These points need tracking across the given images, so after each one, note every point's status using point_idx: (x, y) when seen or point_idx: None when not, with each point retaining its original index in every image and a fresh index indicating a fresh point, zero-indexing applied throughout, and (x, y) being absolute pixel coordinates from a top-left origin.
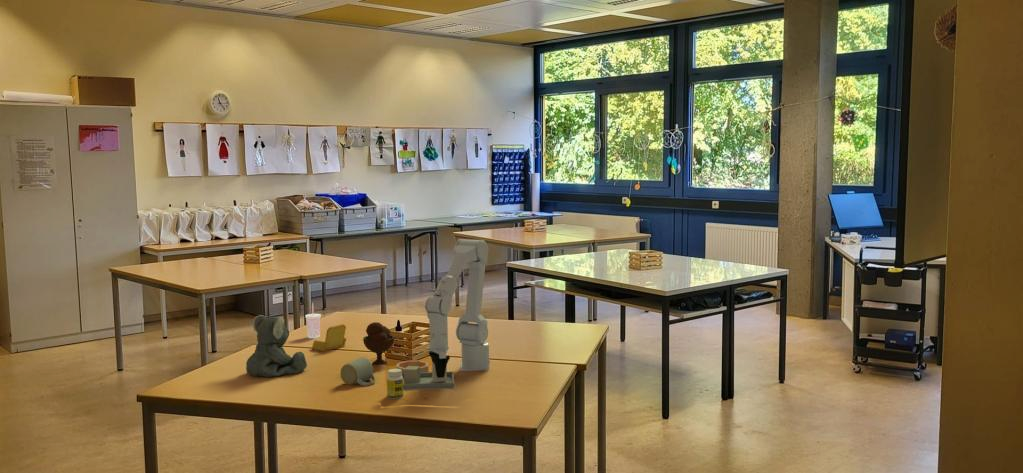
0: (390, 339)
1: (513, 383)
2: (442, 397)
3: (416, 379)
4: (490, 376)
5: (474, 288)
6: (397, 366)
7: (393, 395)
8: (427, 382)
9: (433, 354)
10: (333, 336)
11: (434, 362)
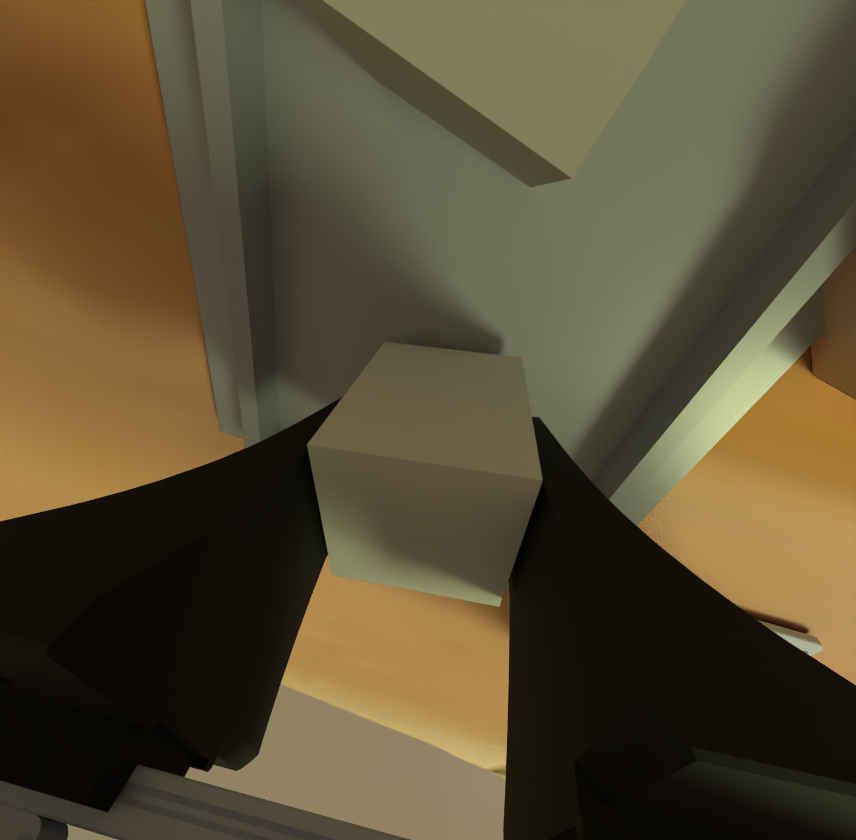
0: None
1: (332, 639)
2: (50, 301)
3: (347, 51)
4: (470, 634)
5: None
6: None
7: None
8: (455, 276)
9: (581, 712)
10: None
11: (105, 498)
